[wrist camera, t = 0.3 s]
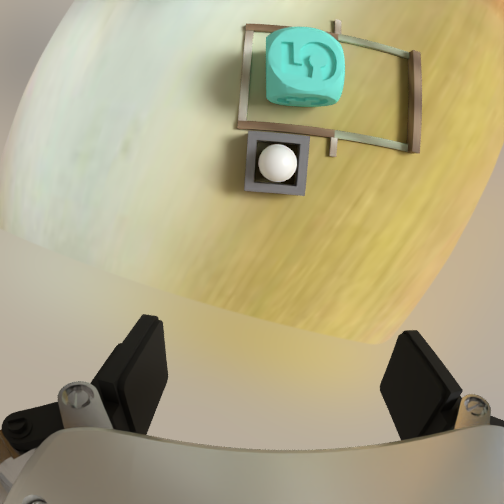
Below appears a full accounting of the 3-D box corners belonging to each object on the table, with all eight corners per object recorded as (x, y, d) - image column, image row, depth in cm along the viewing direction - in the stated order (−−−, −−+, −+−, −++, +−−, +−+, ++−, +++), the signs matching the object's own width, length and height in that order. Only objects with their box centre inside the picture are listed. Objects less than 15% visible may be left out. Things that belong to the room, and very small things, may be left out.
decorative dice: (265, 49, 31) (266, 24, 23) (327, 53, 30) (342, 30, 23) (266, 105, 33) (267, 91, 26) (329, 108, 33) (346, 96, 25)
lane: (247, 11, 29) (247, 5, 27) (413, 42, 29) (419, 38, 27) (236, 147, 35) (235, 146, 33) (411, 170, 35) (418, 171, 33)
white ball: (260, 144, 33) (259, 141, 29) (295, 147, 33) (300, 145, 29) (257, 179, 34) (256, 181, 30) (292, 182, 34) (297, 185, 30)
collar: (249, 133, 34) (248, 130, 31) (306, 138, 34) (309, 136, 31) (245, 188, 36) (244, 190, 34) (301, 192, 36) (304, 195, 33)
